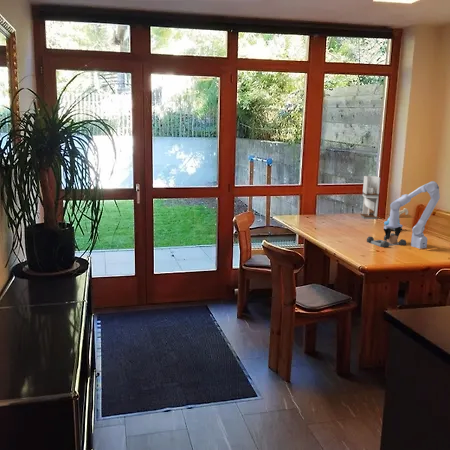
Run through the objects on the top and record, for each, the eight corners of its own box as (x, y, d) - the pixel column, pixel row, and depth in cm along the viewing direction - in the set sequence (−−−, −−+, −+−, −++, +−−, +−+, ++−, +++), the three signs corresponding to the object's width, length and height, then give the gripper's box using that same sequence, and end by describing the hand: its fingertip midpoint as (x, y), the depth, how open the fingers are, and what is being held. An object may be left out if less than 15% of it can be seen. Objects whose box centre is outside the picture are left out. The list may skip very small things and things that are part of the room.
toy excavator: (407, 232, 364) (409, 209, 360) (384, 230, 367) (386, 208, 363) (405, 229, 372) (407, 207, 368) (382, 228, 375) (384, 206, 371)
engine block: (397, 243, 325) (398, 234, 324) (392, 243, 323) (393, 234, 322) (391, 241, 330) (392, 232, 329) (386, 242, 328) (387, 233, 327)
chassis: (406, 246, 322) (406, 239, 321) (382, 249, 314) (383, 242, 313) (388, 240, 336) (389, 234, 335) (366, 243, 327) (366, 236, 326)
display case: (360, 216, 422) (364, 175, 415) (373, 216, 422) (376, 176, 414) (363, 218, 411) (367, 177, 403) (376, 219, 410) (380, 177, 403)
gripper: (397, 217, 330) (395, 236, 333) (381, 218, 324) (379, 238, 327) (405, 219, 324) (403, 238, 326) (389, 220, 317) (387, 240, 320)
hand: (392, 238), depth 326 cm, fingers open, 7 cm apart
